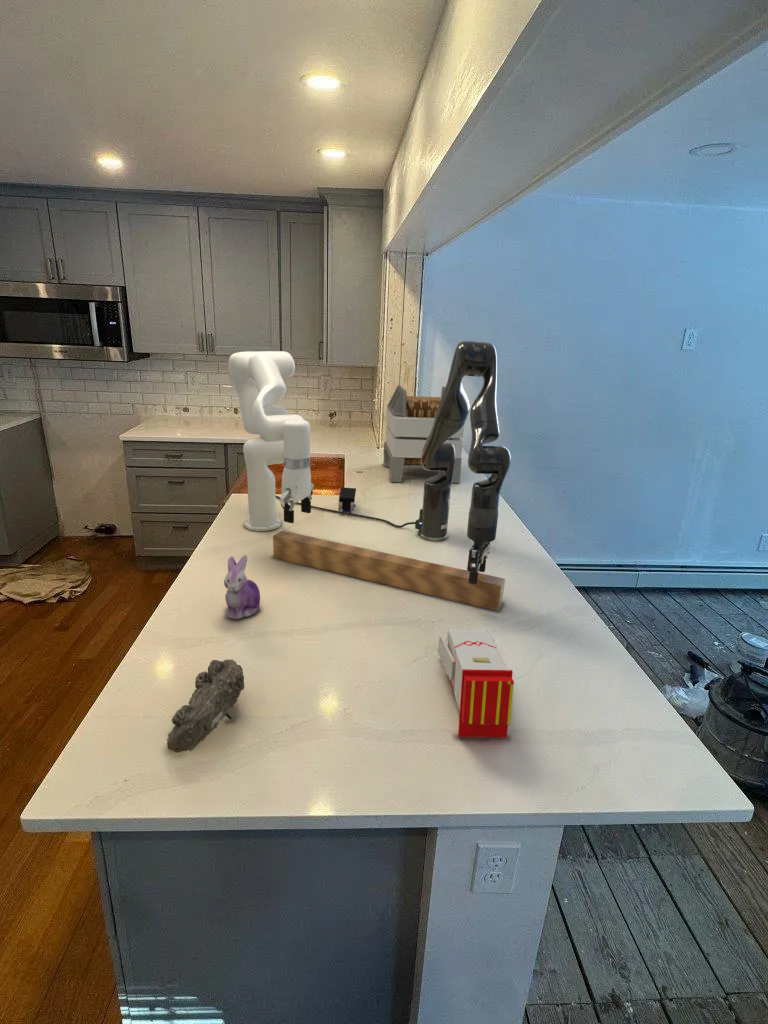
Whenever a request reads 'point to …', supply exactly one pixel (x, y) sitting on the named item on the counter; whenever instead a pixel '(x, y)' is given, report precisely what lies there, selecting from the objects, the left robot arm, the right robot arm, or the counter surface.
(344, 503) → the figurine character
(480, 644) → the toy
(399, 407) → the grey storage crate
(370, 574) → the post
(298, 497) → the left robot arm
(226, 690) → the fossil
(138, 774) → the counter surface
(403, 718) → the counter surface
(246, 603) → the figurine
